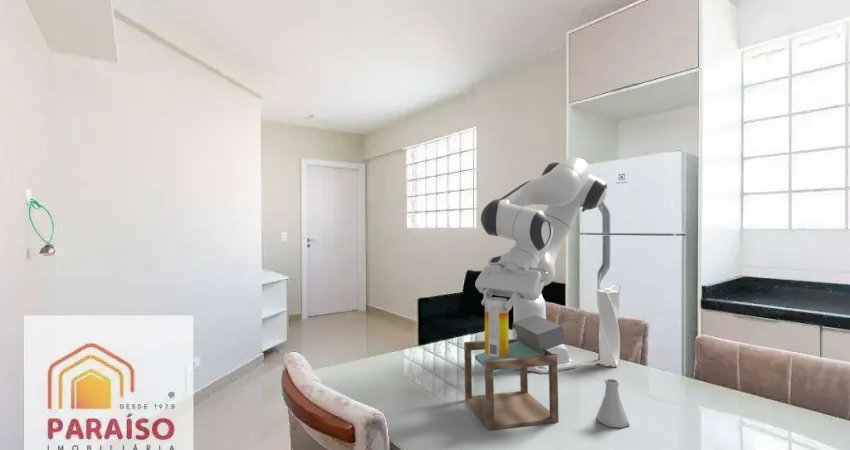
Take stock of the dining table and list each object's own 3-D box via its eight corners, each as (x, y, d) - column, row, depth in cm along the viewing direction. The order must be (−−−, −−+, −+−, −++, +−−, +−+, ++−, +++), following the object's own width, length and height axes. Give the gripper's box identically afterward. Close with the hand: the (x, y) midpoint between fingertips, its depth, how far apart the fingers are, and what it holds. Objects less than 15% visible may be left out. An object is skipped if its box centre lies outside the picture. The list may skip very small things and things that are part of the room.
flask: (591, 415, 102) (590, 376, 103) (618, 414, 103) (617, 374, 103) (606, 429, 95) (605, 386, 95) (635, 428, 96) (634, 385, 96)
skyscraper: (624, 362, 143) (622, 283, 144) (621, 369, 136) (619, 286, 137) (598, 359, 147) (596, 282, 148) (595, 365, 141) (593, 284, 141)
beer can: (509, 354, 108) (509, 297, 108) (506, 360, 102) (506, 300, 102) (487, 352, 110) (487, 296, 110) (482, 358, 104) (482, 299, 104)
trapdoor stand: (525, 393, 117) (524, 337, 117) (558, 421, 99) (557, 356, 100) (465, 399, 113) (464, 342, 114) (488, 430, 96) (487, 362, 96)
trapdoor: (541, 336, 116) (535, 315, 116) (568, 350, 103) (561, 326, 102) (475, 359, 112) (469, 337, 112) (494, 376, 98) (487, 351, 98)
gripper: (555, 277, 105) (532, 320, 99) (496, 272, 121) (473, 309, 115) (545, 261, 103) (520, 304, 96) (485, 258, 119) (461, 295, 112)
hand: (494, 307), depth 106 cm, fingers closed on beer can, 6 cm apart
